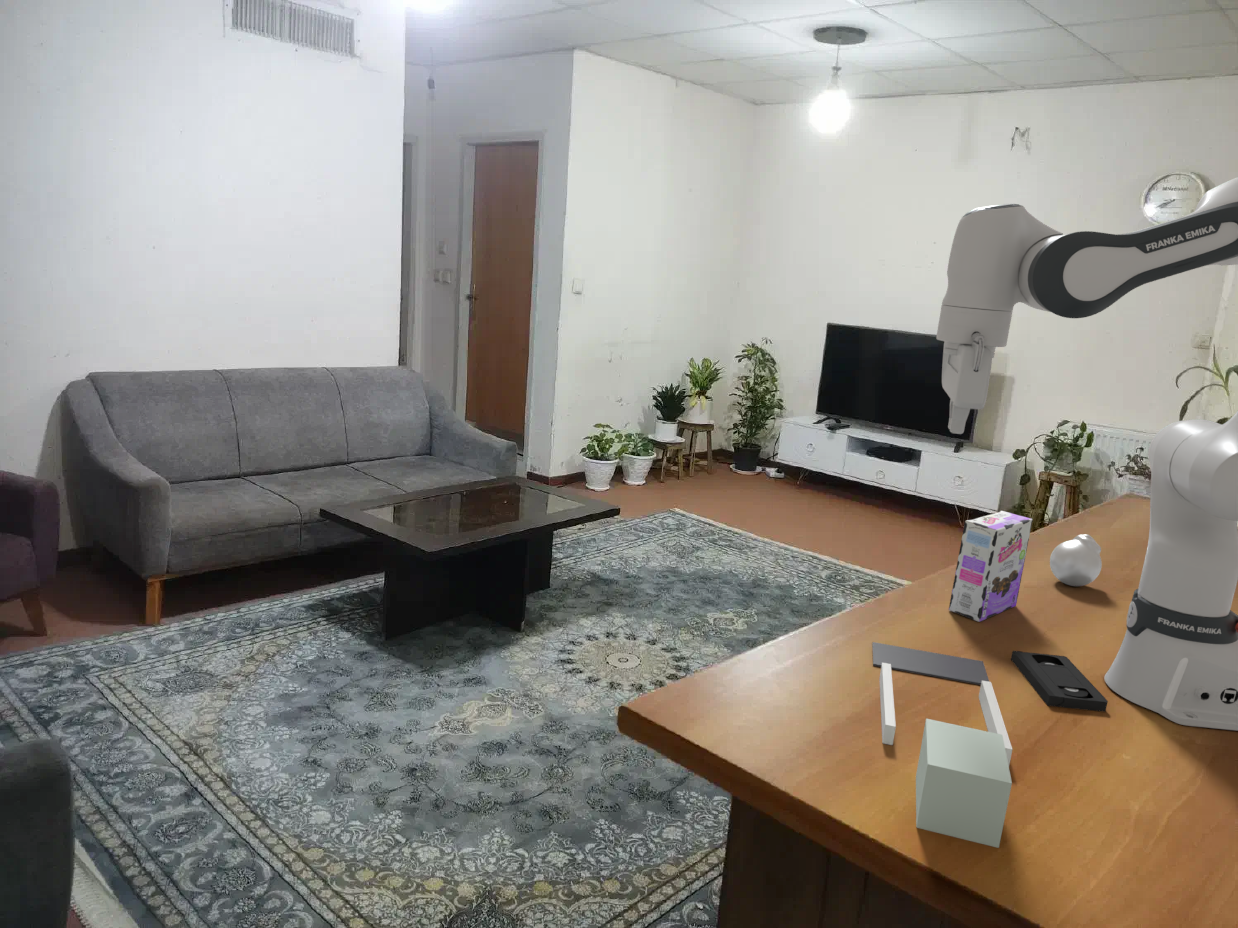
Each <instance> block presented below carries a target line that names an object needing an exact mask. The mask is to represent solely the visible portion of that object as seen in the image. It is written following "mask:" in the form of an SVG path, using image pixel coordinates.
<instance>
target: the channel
mask: <svg viewBox="0 0 1238 928" xmlns="http://www.w3.org/2000/svg"><path fill="white" fill-rule="evenodd" d="M871 645H872V666H873V667H879V668H880V672H879V673H880V674H879V697H880V699H879V700H880V718H881V720H880V721H881V723H880V724H881V739H882V741H881V742H882V744H884V745H890V746H893V745H894V739H895V733H896V729H897V724H896V712H895V711H896V710H895V699H894V698H895V697H894V686H893V675H892V674H893V673H892V672H893V671H892V670H895V671H901V672H905V671H906V672H907V673H911V674H917V675H923V676H928V677H934V678H939V679H944V680H951V681H957V682H962V683H966V684H973V685H977V686H980V688H979V691H978V692H979V693H978V699H979V704H980V708H981V711H982V714H983V717H984V722H985V725H986V729H987V732H992V733H996V734H1001V735H1002V736H1003V741H1004V746H1005V751H1006V756H1007V761H1008V766H1009V767H1010V764H1011V758H1012V753H1013V746H1012V743H1011V741H1010V737H1009V734H1008V731H1007V728H1006V725H1005V722H1004V718H1003V715H1002V712H1001V710H1000V706H999V703H998V702H999V701H998V700H997V696H996V694H995V690H994V687H993V683H992V682H991V681H990V679H989V676H988V672H987V670H986V669H987V668H986V666H985V664H984V661H983V660H978V659H973V658H972V659H971V658H967V657H961V656H955V655H950V654H949V655H948V654H944V653H939V652H931V651H926V650H920V649H916V648H910V647H904V646H897V645H894V644H893V645H891V644H887V643H880V642H874V641H872V643H871ZM906 672H905V673H906Z"/></svg>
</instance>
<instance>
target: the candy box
mask: <svg viewBox="0 0 1238 928" xmlns="http://www.w3.org/2000/svg"><path fill="white" fill-rule="evenodd" d="M1032 524H1033V518H1031V517H1030V518H1029V517H1026V516H1023V515H1019V514H1015V513H1013V512H1008V511H1005V510H999V512H996V513H990V514H987V515H983V516H980V517H975V518H973V519H972V518H971V519H968V520H965V521H964V524H963V525H964V526H963V531H962V537H961V540H960V547H959V551H958V556H957V563H956V568H955V574H954V579H953V585H952V590H951V595H950V599H949V606H948V611H949V612H953V613H955V614H958V615H960V616H963V617H965V618H968V619H971V620H973V621H976V622H983V621H985V620H987V619H989V618H991V617H993V616H995V615H998V614H1001V613H1002V612H1005V611H1008V610H1010V609H1012V608H1014V607H1016V606H1017V604H1018V597H1019V592H1020V588H1021V587H1020V586H1021V581H1022V576H1023V572H1024V566H1025V562H1026V555H1027V551H1028V546H1029V540H1030V536H1031V530H1032V529H1031V528H1032V526H1033V525H1032Z"/></svg>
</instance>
